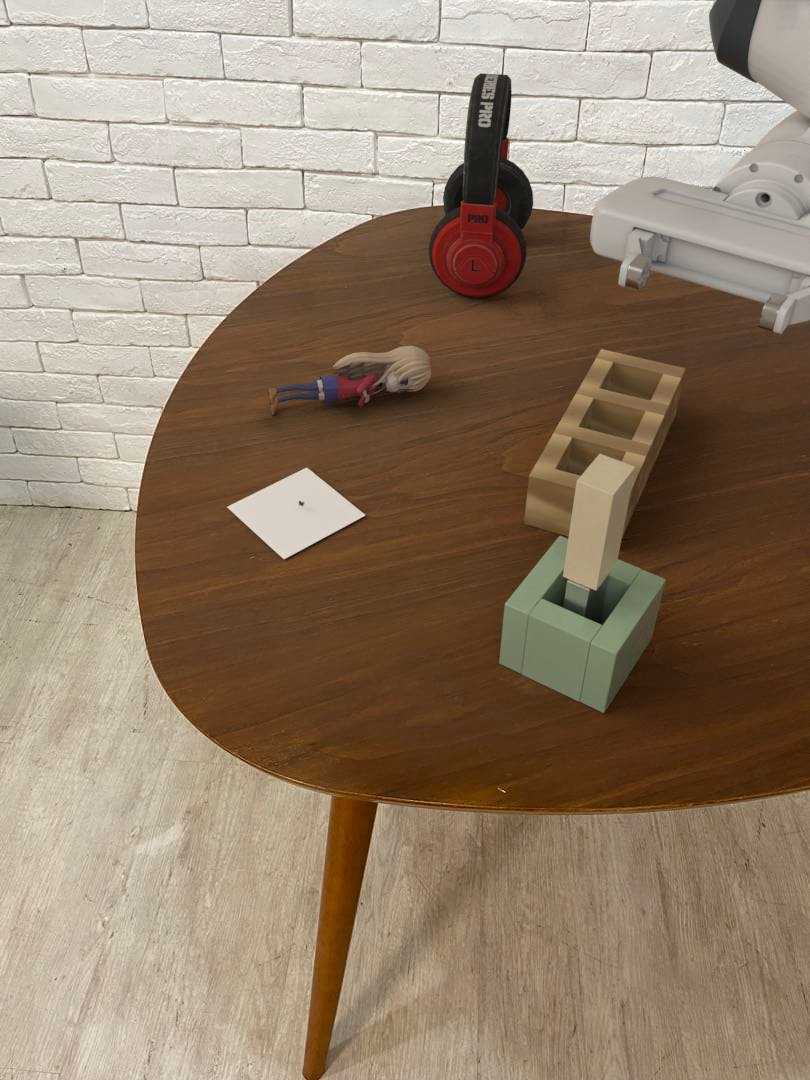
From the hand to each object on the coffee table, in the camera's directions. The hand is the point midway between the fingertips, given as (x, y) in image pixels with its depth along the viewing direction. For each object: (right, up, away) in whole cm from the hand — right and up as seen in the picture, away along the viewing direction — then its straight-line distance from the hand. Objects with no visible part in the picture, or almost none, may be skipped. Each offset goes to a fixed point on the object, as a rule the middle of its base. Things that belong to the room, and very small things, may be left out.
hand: (698, 299), depth 66 cm
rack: (-2, -9, +23) cm, 25 cm away
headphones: (-10, +14, +48) cm, 52 cm away
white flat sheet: (-27, -13, +18) cm, 35 cm away
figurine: (-24, -2, +30) cm, 38 cm away
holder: (-7, -23, +8) cm, 25 cm away
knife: (-7, -23, +8) cm, 25 cm away
